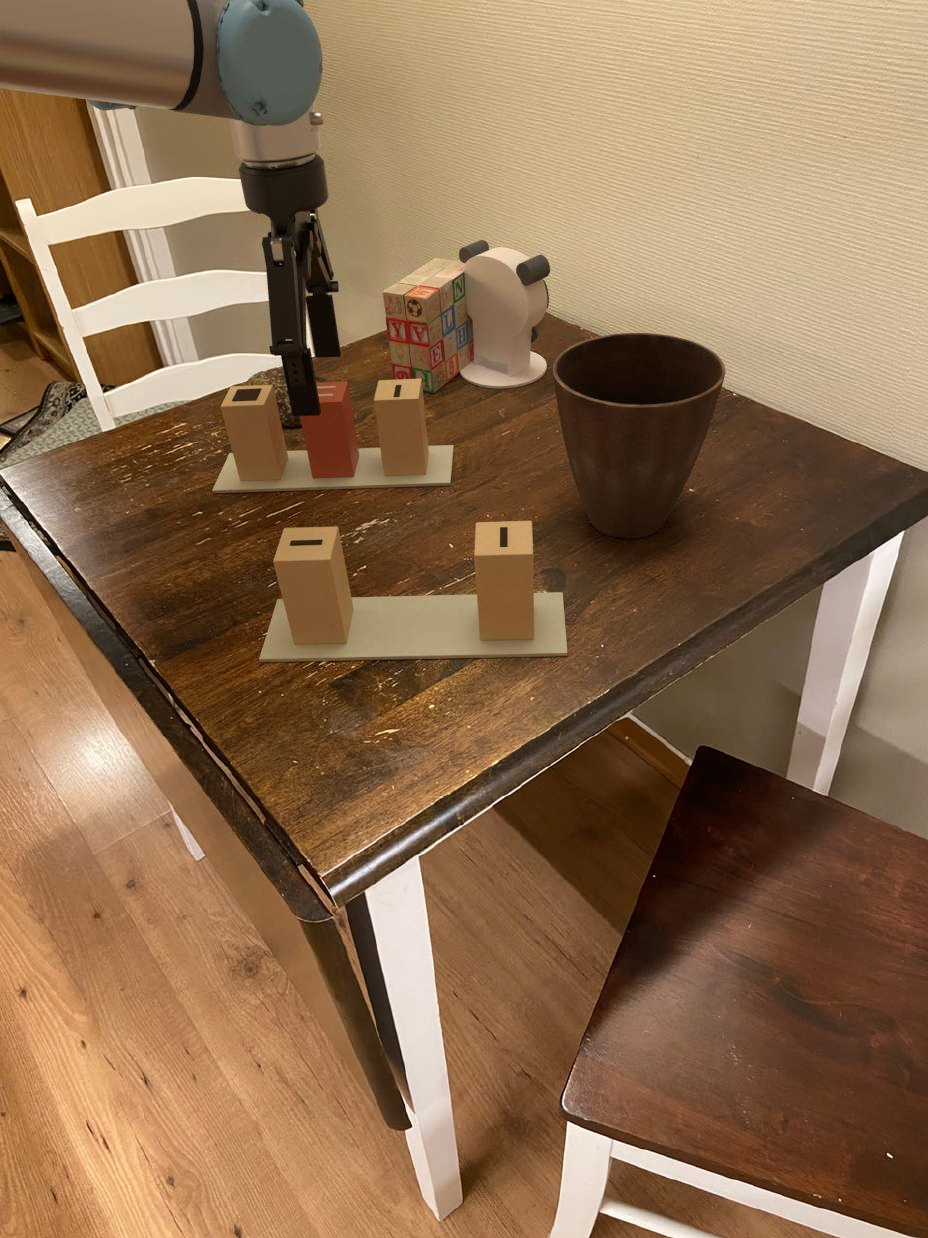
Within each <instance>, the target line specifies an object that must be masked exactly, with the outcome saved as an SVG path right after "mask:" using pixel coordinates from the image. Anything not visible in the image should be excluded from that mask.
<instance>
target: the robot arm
mask: <svg viewBox="0 0 928 1238" xmlns="http://www.w3.org/2000/svg"><path fill="white" fill-rule="evenodd" d="M304 6H305V3H304V0H0V90H9V91H17V92H24V93H33V94H40V95H41V94H42V95H48V96H49V95H50V96H57V97H64V98H72V99H79V100H86V101H87V102H88V103H89V104H90V105H91V106H93V107H94V108H96V109H98V110H101V111H114V110H115V111H116V110H122V109H128V110H130V111H133V110H136V108H137V107H143V108H151V109H160V110H165V111H166V110H168V111H173V112H175V113H185V114H192V115H199V116H206V117H215V118H221V119H222V118H223V119H228V124H229V130H230V135H231V141H232V146H233V151H234V156H235V157H236V158H238V160H241V161H242V162H241V163H240V166H239V167H238V174H239V178H240V183H241V188H242V189H241V190H242V194H243V199H244V204H245V206H246V208H247V209H248V210H249V211H251V212H252V213H255V214H259V215H265V216H266V217H268V218H269V220H270V231H268V232H267V236H263V237H262V242H261V246H262V249H263V250H262V251H263V256H264V262H265V273H266V283H267V284H266V286H267V297H268V308H269V309H268V311H269V323H270V335H271V345H269V346H268V347H269V353H270V355H272V356H274V357H280V359H281V365H282V366H283V370H284V375H285V380H286V385H287V390H288V395H289V401H290V406H291V411H292V416H318V415H320V414H321V408H320V402H319V396H318V390H317V384H316V379H315V374H316V373H315V368H314V367H315V366H314V361H313V356H312V350H311V347H308V343H307V339H308V338H307V316H308V321H309V327H310V333H311V334H310V335H311V339H312V346H313V351H314V357H315V358H316V359H318V358H319V359H320V358H340V357H341V355H342V353H341V346H340V339H339V332H338V324H337V318H336V311H335V305H334V304H335V303H334V297H333V294H330V293H339V292H340V291H339V290H340V287H339V286H340V285H339V281H338V280H334V277H335V272H334V270H333V266H332V262H331V259H330V255H329V251H328V246H327V244H326V240H325V236H324V232H323V228H322V224H321V221H320V216H319V211H318V208H320V207H322V206H324V205H325V204H326V203H327V201H328V200H329V188H328V182H327V181H328V180H327V173H326V167H325V160H324V159H323V158H322V157H321V156H320V155H319V154H318V151H320V150H321V148H322V144H321V143H322V142H321V137H320V136H321V135H320V128H319V126H322V125H324V123H325V115H324V114H323V112H322V111H321V112H320V111H316V109H315V107H316V102H315V101H316V99H317V96H318V94H319V91H320V88H321V84H322V80H323V79H322V78H323V69H324V67H323V59H324V58H323V50H322V44H321V39H320V36H319V33H318V31H317V29H316V26H315V24H314V22H313V20H312V19H311V17H310V16H309V14H308V12H307V11H306V10H305V9H304ZM307 293H308V294H311V295H307Z"/></svg>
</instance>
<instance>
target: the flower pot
mask: <svg viewBox="0 0 928 1238" xmlns="http://www.w3.org/2000/svg"><path fill="white" fill-rule="evenodd" d="M726 372H727V371H726V365H725V363H724V362H723V360H722V358H721V357H720V356H719V355H718V354H717V353H716V352H714V351H713V350H712V349H710V348H708V347H706V346H705V345H703V344H700V343H698V342H695V341H693V340H689V339H686V338H682V337H678V336H674V335H669V334H662V333H653V332H622V333H612V334H606V335H599V336H596V337H592V338H587V339H585V340H582V341H580V342H577V343H574V344H573V345H570V346H569V347H567V348H566V349H564V350H563V351H562V352H561V353H560V354H559V355H558V356H557V357H556V359H555V360H554V362H553V365H552V374H553V384H554V391H555V397H556V404H557V411H558V417H559V423H560V429H561V433H562V438H563V442H564V447H565V452H566V455H567V459H568V462H569V466H570V469H571V474H572V476H573V479H574V483H575V485H576V489H577V491H578V494H579V498H580V499H581V502H582V505H583V508H584V510H585V513H586V515H587V518H588V520H589V522H590V524H591V525H592V527H594V528H595V529H596V530H597V531H598V532H600V533H602V534H604V535H606V536H610V537H612V538H613V537H614V538H617V539H626V540H627V539H640V538H645V537H648V536H651V535H652V534H654V533H657V532H658V531H659V530H660V529H661V528H662V527H663V526H664V524H665V523H666V521H667V519H668V517H669V516H670V514H671V512H672V511H673V509H674V507H675V505H676V503H677V501H678V499H679V498H680V496H681V494H682V492H683V490H684V488H685V486H686V485H687V482H688V480H689V477H690V476H691V474H692V472H693V469H694V467H695V464H696V463H697V459H698V458H699V455H700V452H701V450H702V448H703V445H704V442H705V440H706V437H707V435H708V431H709V429H710V425H711V423H712V419H713V417H714V414H715V410H716V407H717V404H718V400H719V397H720V394H721V391H722V388H723V383H724V380H725V377H726Z"/></svg>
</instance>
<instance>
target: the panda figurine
mask: <svg viewBox="0 0 928 1238" xmlns="http://www.w3.org/2000/svg"><path fill="white" fill-rule="evenodd" d="M458 260H459V261H461V262H462V263H465V265H464V268H463V271H464V279H465V296H466V304H467V313H468V314H469V316H470V317H471V319H472V321H473V338H474V360H472V361H471V362H470V364H468V365H467V366H466V367H465V368H463V369H462V370H461V371H460V373H459V374H460V377H461V378H462V379H463V380H465V381H466V382H467V383H469V384H471V385H474V386H476V387H481V388H487V389H498V390H500V389H501V390H502V389H513V388H514V389H515V388H520V387H524V386H526V385H529V384H532V383H534V382H536V381H538V380H540V379H541V378H542V377H543V376H544V375H545V374H546V372H547V369H548V368H547V367H548V365H547V361H546V359H545V358H544V357H543V356H542V355H540V354H538V353H536V352H534V351H533V350H532V349H531V348H532V343H534V342H535V341H536V340H537V339H538V336H539V332H538V328H537V325H538V324H539V323H540V322H541V321H542V319H544V316H545V315H546V312H547V310H548V308H549V305H550V294H549V289H548V284H547V283H546V281H545V279H546V278H547V277H549V276H550V273H551V265H550V261H549V260H548V258H547V257H546V256H545V255H543V254H538V255H536V256H534V257H531V258H530V257H528V256H527V255H526V254H524V253H522V252H521V251H518V250H516V249H514V248H508V247H501V246H500V247H498V246H497V247H494V248H491V249H490V245H489V242H487V240H485V239H480V240H477V241H474V242H473V243H472V242H471V243H470V244H468V245H465V246H463V247H460V249H459V251H458Z"/></svg>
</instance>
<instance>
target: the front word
mask: <svg viewBox="0 0 928 1238" xmlns="http://www.w3.org/2000/svg"><path fill="white" fill-rule="evenodd" d="M533 535H534V534H533V521H532V520H510V521H507V520H505V521H478V522H475V533H474V552H473V553H474V555H473V556H474V571H475V573H474V574H475V587H476V594H475V593H473V594H468V593H467V594H438V595H437V594H436V595H434V594H433V595H431V594H429V595H395V596H394V595H391V596H389V595H388V596H353V597H352V594H351V592H352V591H351V587H350V583H349V577H348V572H347V567H346V561H345V560H346V559H345V555H344V549H343V545H342V538H341V533H340V527H339V526H338V525H337V526H308V527H307V526H306V527H284V528H283V530H282V533H281V535H280V539H279V542H278V545H277V548H276V551H275V554H274V558H273V560H272V562H273V566H274V570H275V574H276V578H277V583H278V586H279V590H280V594H281V598H277V599H276V602H275V606H274V610H273V613H272V615H271V619H270V623H269V625H268V629H267V632H266V635H265V639H264V642H263V645H262V648H261V652H260V655H259V657H258V660H259V663H291V662H293V663H294V662H297V663H298V662H340V661H342V662H345V661H347V662H348V661H389V660H390V661H391V660H435V659H436V660H440V659H442V660H443V659H445V660H446V659H488V658H489V659H491V658H493V659H494V658H495V659H496V658H537V657H538V658H539V657H540V658H541V657H568V655H569V654H568V653H569V652H568V642H567V627H566V616H565V603H564V592H563V591H555V592H554V591H553V592H551V591H550V592H535V585H534V583H535V582H534V581H535V579H534V577H535V576H534V575H535V574H534V572H535V571H534V539H533V538H534V536H533Z"/></svg>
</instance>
